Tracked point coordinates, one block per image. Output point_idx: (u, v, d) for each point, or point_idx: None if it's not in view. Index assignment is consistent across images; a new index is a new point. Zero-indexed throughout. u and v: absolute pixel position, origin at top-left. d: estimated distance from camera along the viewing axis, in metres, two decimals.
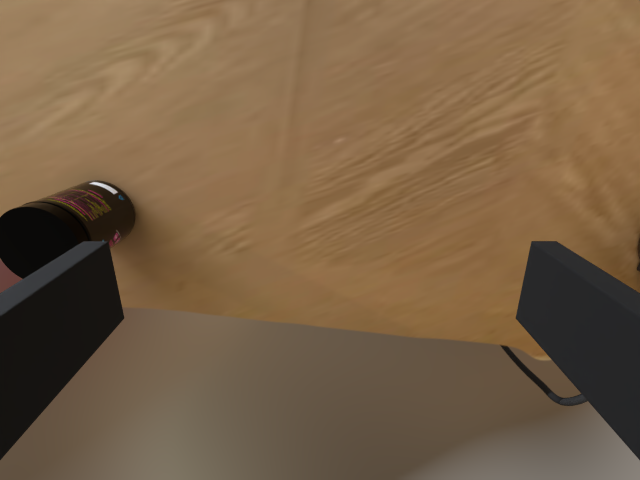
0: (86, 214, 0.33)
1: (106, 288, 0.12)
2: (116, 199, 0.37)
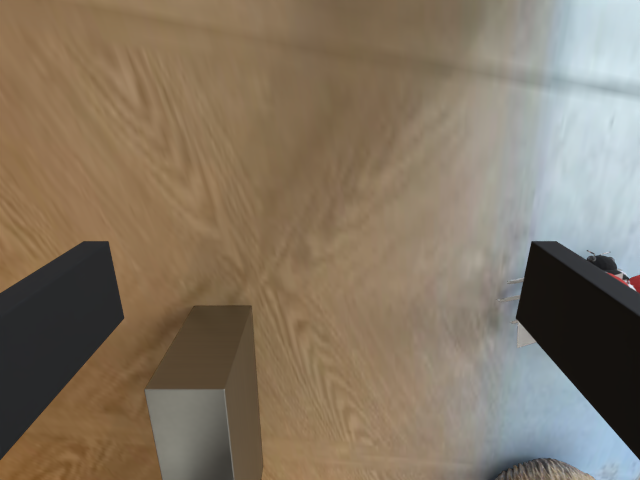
0: None
1: (106, 288, 0.12)
2: None
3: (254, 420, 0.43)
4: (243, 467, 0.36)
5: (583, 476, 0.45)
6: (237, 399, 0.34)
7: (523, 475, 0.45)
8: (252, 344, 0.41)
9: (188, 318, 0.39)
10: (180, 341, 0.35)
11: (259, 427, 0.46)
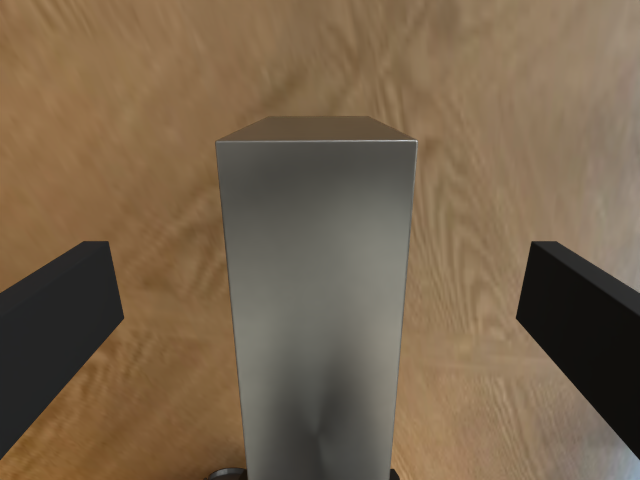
0: None
1: (106, 288, 0.12)
2: None
3: None
4: None
5: None
6: None
7: None
8: None
9: (265, 119, 0.21)
10: (265, 124, 0.17)
11: None
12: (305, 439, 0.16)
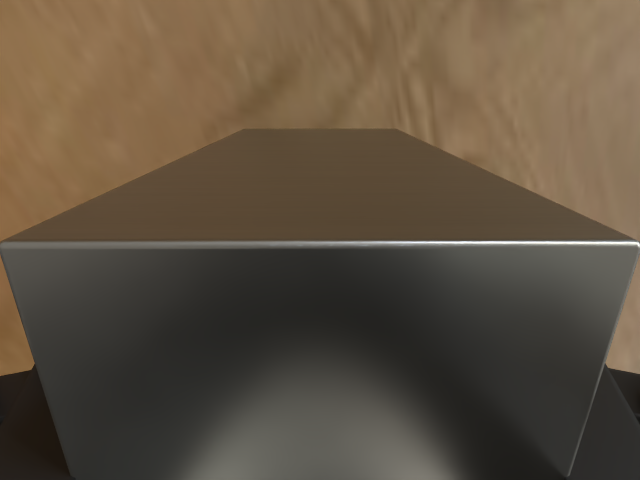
0: None
1: None
2: None
3: None
4: None
5: None
6: None
7: None
8: None
9: (234, 135, 0.13)
10: (222, 150, 0.09)
11: None
12: None
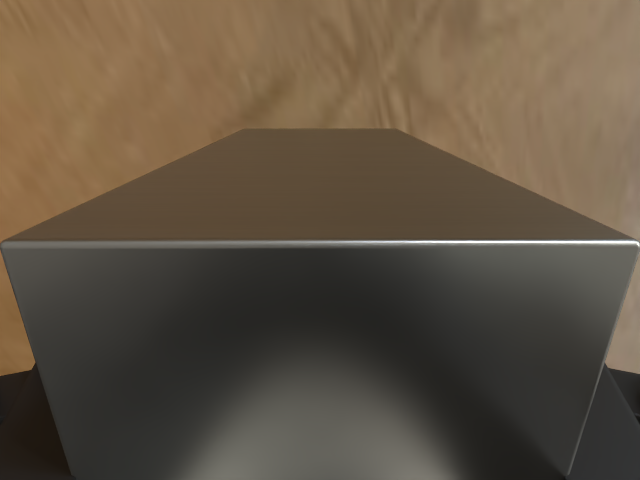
0: None
1: None
2: None
3: None
4: None
5: None
6: None
7: None
8: None
9: (234, 135, 0.13)
10: (222, 150, 0.09)
11: None
12: None
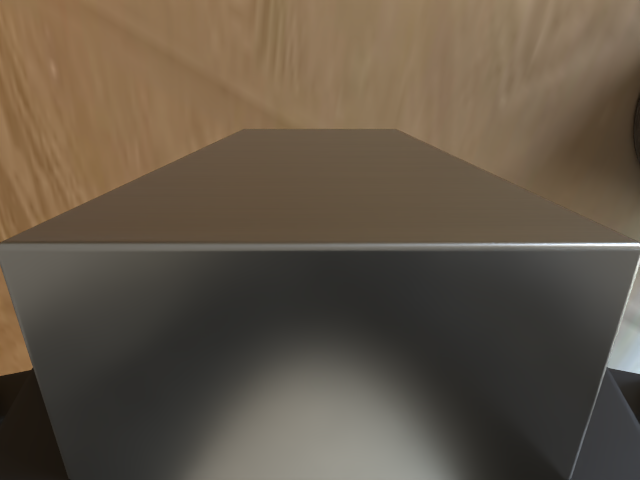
0: None
1: None
2: None
3: None
4: None
5: None
6: None
7: None
8: None
9: (234, 135, 0.13)
10: (222, 151, 0.09)
11: None
12: None
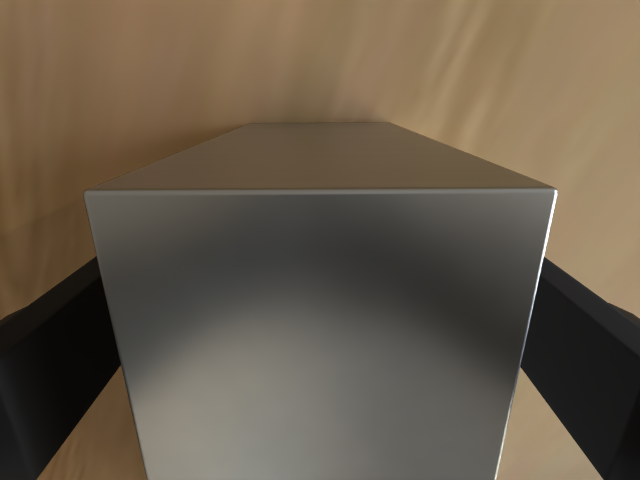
0: None
1: None
2: None
3: None
4: None
5: None
6: None
7: None
8: None
9: (242, 128, 0.14)
10: (234, 138, 0.11)
11: None
12: None
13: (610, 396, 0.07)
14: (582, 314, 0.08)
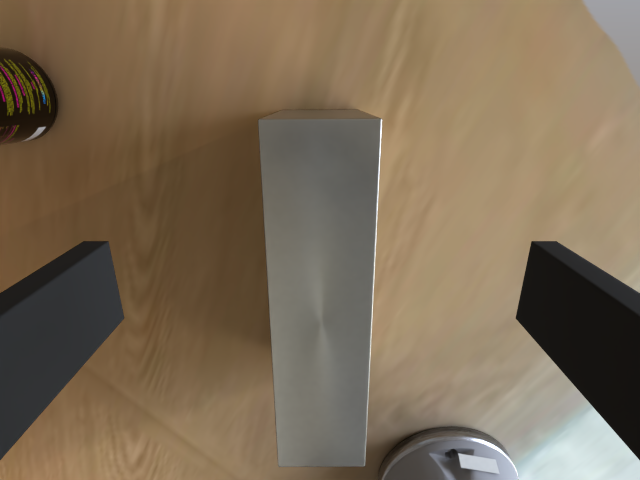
0: None
1: (106, 288, 0.12)
2: None
3: None
4: None
5: None
6: None
7: None
8: None
9: None
10: (283, 113, 0.25)
11: None
12: (311, 327, 0.23)
13: None
14: None
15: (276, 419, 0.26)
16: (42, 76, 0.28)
